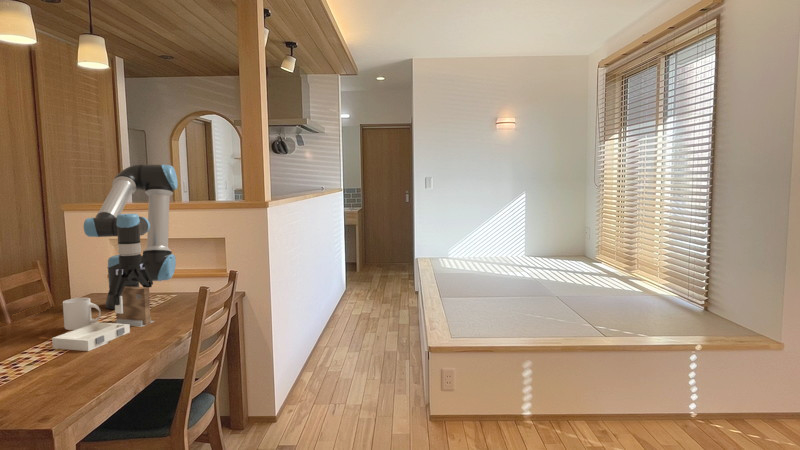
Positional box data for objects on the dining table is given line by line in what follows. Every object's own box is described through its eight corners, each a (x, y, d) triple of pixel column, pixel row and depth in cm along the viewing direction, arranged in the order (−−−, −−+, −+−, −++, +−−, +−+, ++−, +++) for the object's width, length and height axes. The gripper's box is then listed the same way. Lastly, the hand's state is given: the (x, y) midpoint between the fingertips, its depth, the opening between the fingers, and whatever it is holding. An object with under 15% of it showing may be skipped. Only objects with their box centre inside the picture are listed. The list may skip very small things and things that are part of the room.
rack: (126, 320, 188) (125, 314, 187) (154, 322, 185) (154, 316, 185) (112, 326, 181) (112, 320, 181) (141, 328, 178) (141, 321, 178)
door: (150, 322, 183) (148, 287, 182) (145, 325, 180) (143, 289, 179) (121, 321, 185) (119, 286, 184) (116, 323, 183) (114, 287, 181)
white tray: (97, 331, 175) (96, 322, 174) (131, 333, 172) (130, 324, 171) (52, 348, 157) (52, 338, 157) (89, 351, 154) (89, 340, 154)
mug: (97, 329, 177) (95, 301, 176) (60, 332, 174) (58, 303, 173) (105, 323, 185) (103, 296, 184) (70, 325, 182) (68, 298, 181)
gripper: (144, 249, 193) (147, 299, 195) (94, 259, 169) (98, 316, 171) (161, 249, 192) (163, 300, 194) (112, 259, 167) (116, 318, 169)
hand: (132, 308), depth 182 cm, fingers open, 13 cm apart
